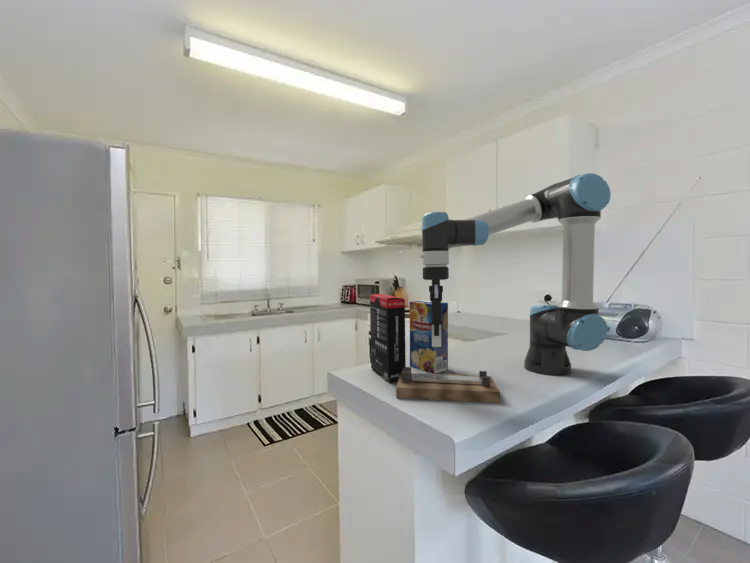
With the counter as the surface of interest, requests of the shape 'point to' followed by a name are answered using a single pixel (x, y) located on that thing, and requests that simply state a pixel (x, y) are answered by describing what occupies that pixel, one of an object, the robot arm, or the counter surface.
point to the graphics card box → (387, 335)
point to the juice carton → (427, 338)
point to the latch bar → (447, 379)
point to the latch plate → (447, 389)
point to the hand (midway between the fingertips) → (436, 346)
